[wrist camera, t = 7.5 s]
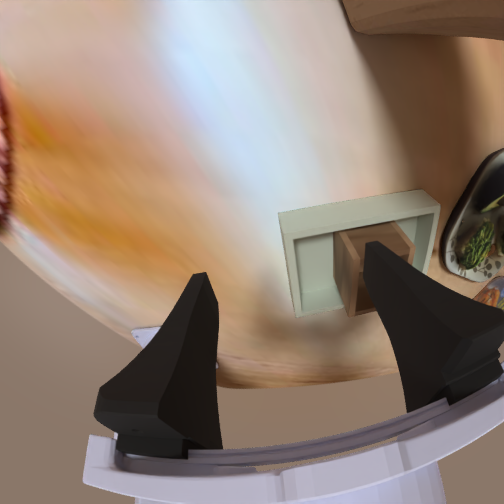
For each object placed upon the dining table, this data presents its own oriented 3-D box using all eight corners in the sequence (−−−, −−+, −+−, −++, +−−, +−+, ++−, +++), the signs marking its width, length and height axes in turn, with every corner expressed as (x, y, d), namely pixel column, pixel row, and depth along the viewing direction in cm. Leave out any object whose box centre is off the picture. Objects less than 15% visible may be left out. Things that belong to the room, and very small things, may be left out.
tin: (504, 264, 28) (534, 303, 21) (507, 272, 29) (534, 310, 22) (436, 330, 35) (458, 373, 28) (443, 334, 36) (463, 375, 29)
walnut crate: (381, 266, 25) (402, 303, 21) (333, 276, 25) (348, 317, 21) (387, 212, 21) (415, 247, 17) (332, 221, 22) (353, 260, 18)
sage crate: (410, 268, 26) (422, 287, 24) (290, 294, 27) (295, 318, 25) (422, 189, 21) (440, 205, 18) (277, 213, 22) (283, 233, 19)
